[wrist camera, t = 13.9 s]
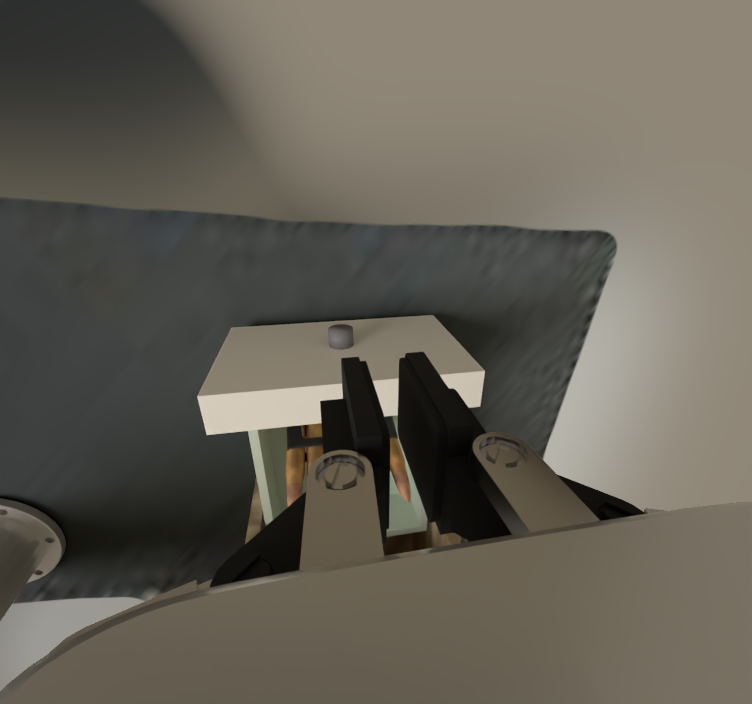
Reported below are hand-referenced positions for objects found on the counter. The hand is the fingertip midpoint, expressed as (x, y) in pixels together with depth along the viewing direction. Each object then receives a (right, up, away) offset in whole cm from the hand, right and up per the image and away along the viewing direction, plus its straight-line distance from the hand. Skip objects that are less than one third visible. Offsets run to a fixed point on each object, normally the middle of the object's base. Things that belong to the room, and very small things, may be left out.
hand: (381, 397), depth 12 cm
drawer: (-4, -5, +28) cm, 29 cm away
